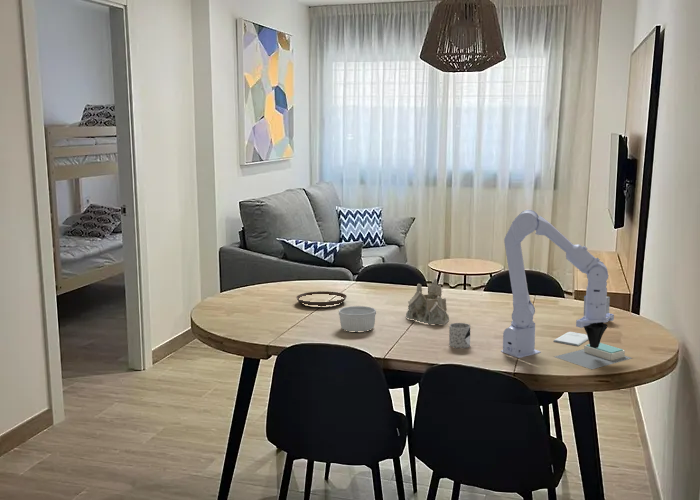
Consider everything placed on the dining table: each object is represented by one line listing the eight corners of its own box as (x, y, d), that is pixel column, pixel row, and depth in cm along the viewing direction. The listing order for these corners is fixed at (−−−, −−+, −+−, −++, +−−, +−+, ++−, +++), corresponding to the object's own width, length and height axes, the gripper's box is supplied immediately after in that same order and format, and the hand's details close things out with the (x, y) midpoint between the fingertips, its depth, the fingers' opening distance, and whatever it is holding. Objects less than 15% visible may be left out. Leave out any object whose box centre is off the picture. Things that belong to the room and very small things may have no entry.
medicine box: (609, 320, 247) (610, 296, 246) (604, 322, 244) (605, 299, 243) (588, 316, 253) (589, 293, 251) (583, 318, 250) (583, 295, 248)
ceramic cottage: (407, 313, 262) (408, 275, 259) (450, 316, 259) (451, 278, 255) (402, 326, 247) (403, 286, 244) (447, 329, 244) (449, 289, 241)
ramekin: (357, 322, 251) (357, 303, 250) (384, 328, 242) (383, 309, 241) (331, 329, 242) (330, 310, 241) (357, 336, 233) (357, 316, 232)
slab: (611, 353, 202) (624, 349, 205) (584, 344, 210) (597, 341, 213) (611, 360, 202) (624, 356, 205) (584, 351, 210) (597, 348, 213)
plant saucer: (317, 295, 295) (317, 288, 294) (356, 301, 283) (356, 294, 282) (286, 305, 278) (285, 298, 278) (326, 312, 266) (326, 304, 266)
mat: (591, 370, 195) (591, 369, 195) (553, 357, 207) (553, 356, 206) (632, 359, 204) (632, 358, 204) (593, 347, 216) (593, 346, 216)
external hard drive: (553, 344, 222) (568, 335, 231) (578, 349, 216) (592, 339, 226) (553, 339, 221) (568, 330, 231) (578, 344, 216) (592, 334, 226)
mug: (470, 349, 217) (470, 328, 216) (448, 348, 218) (449, 328, 217) (470, 339, 227) (470, 320, 225) (449, 339, 228) (450, 319, 227)
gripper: (590, 309, 196) (588, 354, 198) (623, 302, 203) (621, 346, 205) (571, 304, 202) (569, 348, 204) (603, 297, 209) (601, 340, 211)
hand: (594, 346), depth 205 cm, fingers closed
